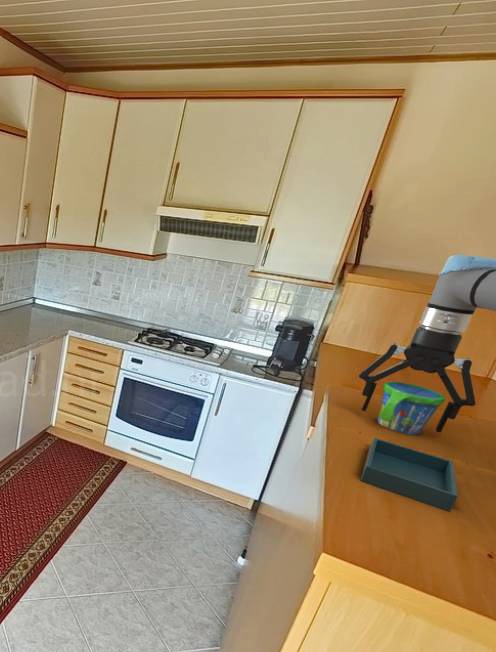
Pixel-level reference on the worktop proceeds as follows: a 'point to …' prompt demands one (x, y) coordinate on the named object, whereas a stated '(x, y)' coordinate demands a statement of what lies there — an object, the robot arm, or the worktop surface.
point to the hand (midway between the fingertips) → (399, 419)
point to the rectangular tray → (411, 474)
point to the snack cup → (407, 407)
